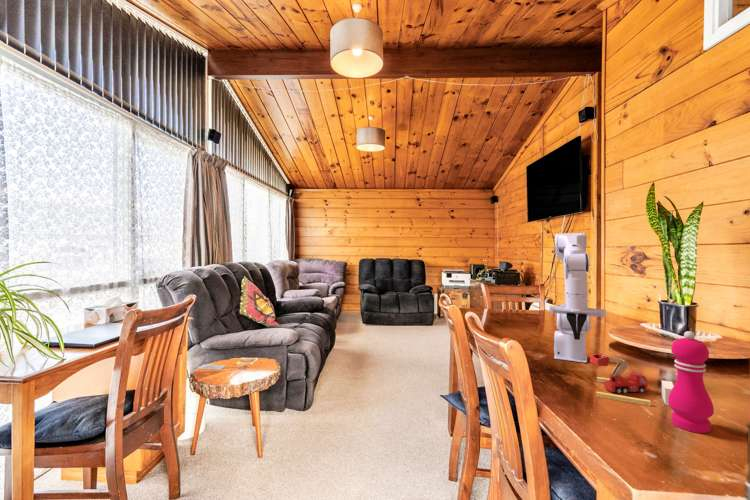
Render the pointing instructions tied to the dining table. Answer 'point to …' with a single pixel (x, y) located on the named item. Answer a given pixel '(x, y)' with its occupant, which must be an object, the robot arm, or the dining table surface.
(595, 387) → the dining table surface
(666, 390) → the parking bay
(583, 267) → the robot arm
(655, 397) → the dining table surface
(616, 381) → the toy fire truck
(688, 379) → the pepper mill
